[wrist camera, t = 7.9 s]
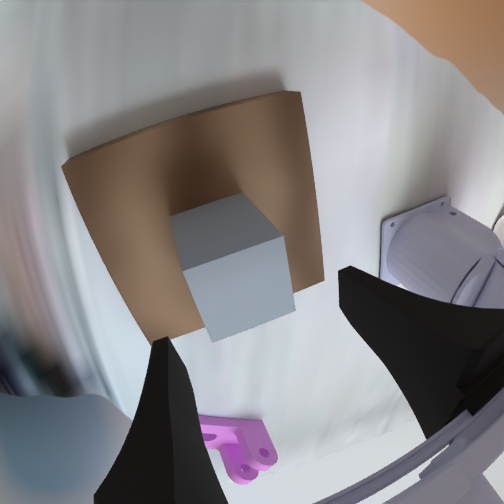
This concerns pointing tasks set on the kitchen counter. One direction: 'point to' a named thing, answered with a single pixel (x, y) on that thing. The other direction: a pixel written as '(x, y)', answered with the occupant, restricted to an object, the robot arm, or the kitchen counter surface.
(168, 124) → the walnut board
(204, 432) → the bracket
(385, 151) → the kitchen counter surface
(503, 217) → the spread jar
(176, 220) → the slate block
